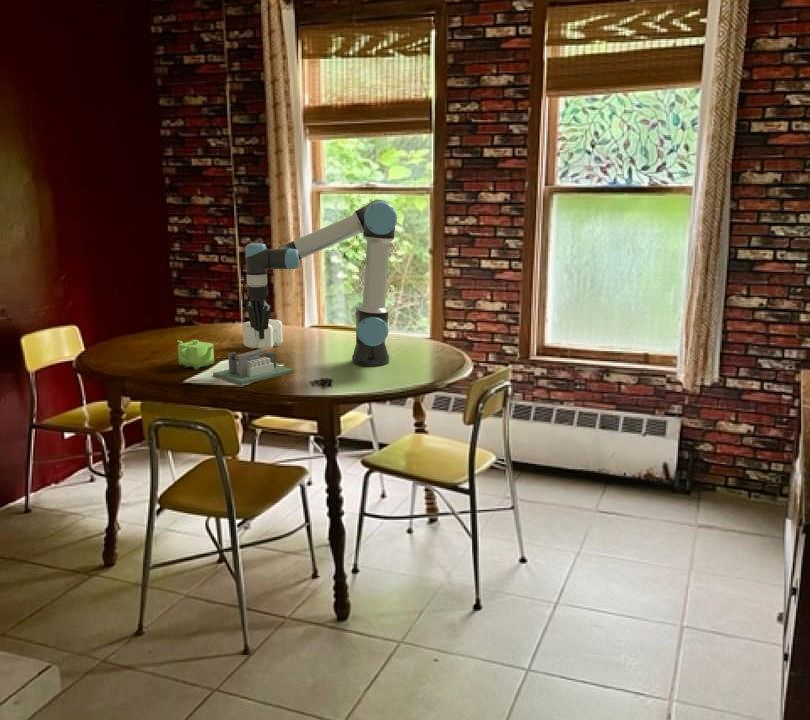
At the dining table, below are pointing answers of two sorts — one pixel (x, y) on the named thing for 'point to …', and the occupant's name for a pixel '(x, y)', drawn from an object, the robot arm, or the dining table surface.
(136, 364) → the dining table surface
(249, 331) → the cable organizer
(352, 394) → the dining table surface
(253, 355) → the orange-tipped flat strip
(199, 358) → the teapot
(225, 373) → the heatsink board
